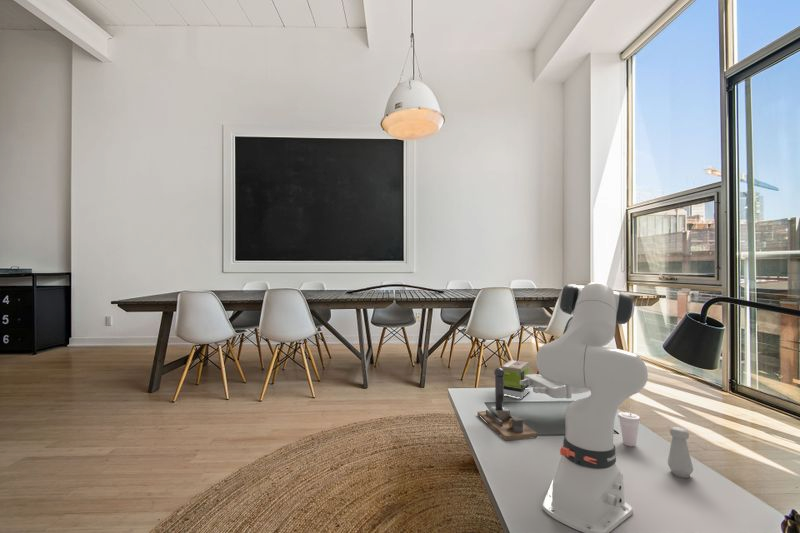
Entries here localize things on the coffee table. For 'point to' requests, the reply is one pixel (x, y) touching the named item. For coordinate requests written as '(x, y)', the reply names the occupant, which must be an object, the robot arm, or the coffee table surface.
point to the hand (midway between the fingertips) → (527, 386)
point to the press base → (508, 426)
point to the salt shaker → (679, 453)
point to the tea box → (515, 378)
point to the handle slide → (500, 396)
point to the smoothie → (629, 427)
